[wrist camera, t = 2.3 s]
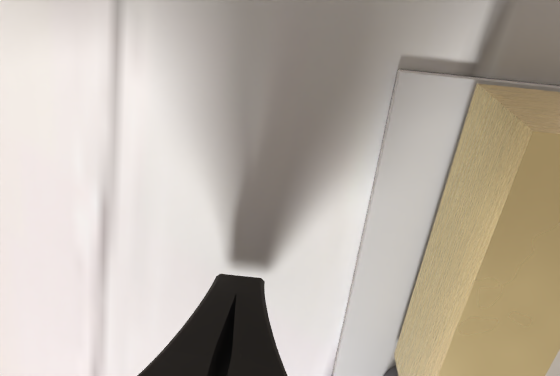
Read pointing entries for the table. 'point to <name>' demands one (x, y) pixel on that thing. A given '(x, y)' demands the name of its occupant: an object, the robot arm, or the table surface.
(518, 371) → the bar
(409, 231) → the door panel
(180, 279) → the table surface
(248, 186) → the table surface
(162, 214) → the table surface
